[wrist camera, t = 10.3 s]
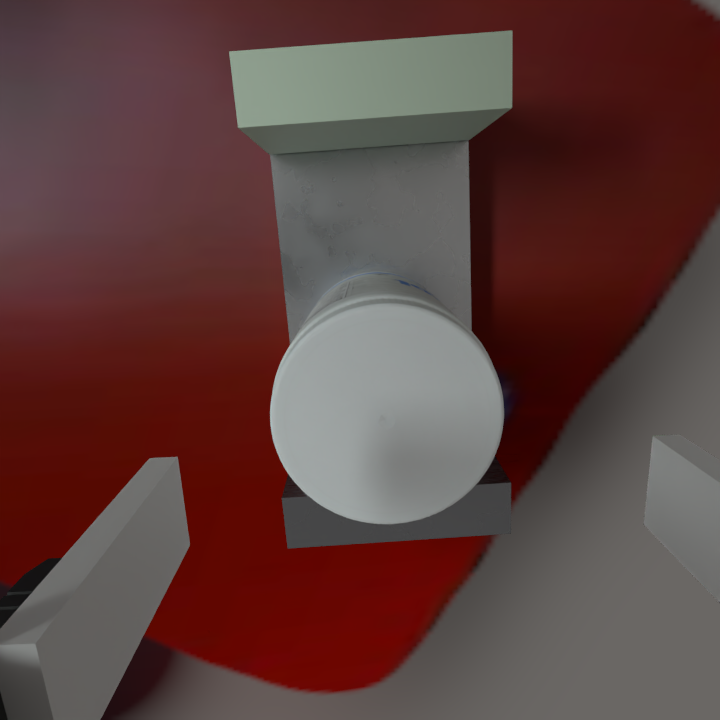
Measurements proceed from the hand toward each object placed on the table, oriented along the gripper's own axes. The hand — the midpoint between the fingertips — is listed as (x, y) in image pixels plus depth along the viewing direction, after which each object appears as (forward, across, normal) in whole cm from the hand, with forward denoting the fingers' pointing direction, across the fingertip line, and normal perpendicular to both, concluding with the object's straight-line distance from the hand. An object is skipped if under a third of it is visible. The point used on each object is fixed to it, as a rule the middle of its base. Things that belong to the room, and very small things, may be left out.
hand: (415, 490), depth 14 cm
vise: (+23, 0, +3) cm, 23 cm away
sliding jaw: (+20, 0, +13) cm, 24 cm away
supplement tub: (+21, 0, 0) cm, 21 cm away
